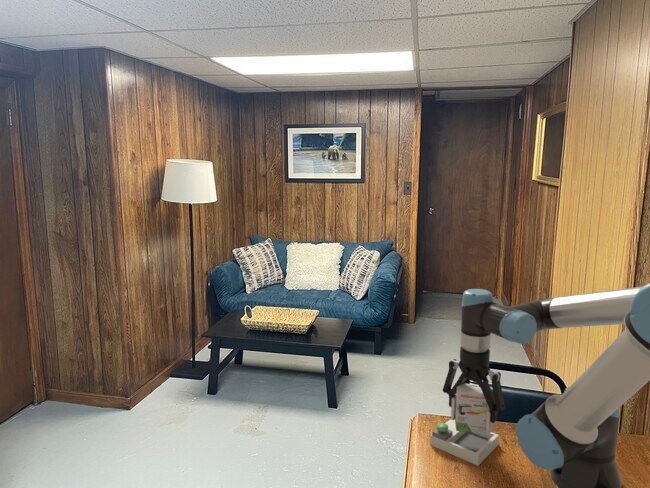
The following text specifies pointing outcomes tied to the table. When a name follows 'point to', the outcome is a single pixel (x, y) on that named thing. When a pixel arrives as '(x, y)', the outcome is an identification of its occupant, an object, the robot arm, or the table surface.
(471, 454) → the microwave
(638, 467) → the table surface
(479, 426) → the ink box
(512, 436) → the table surface
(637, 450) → the table surface
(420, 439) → the table surface
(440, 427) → the button
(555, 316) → the robot arm
